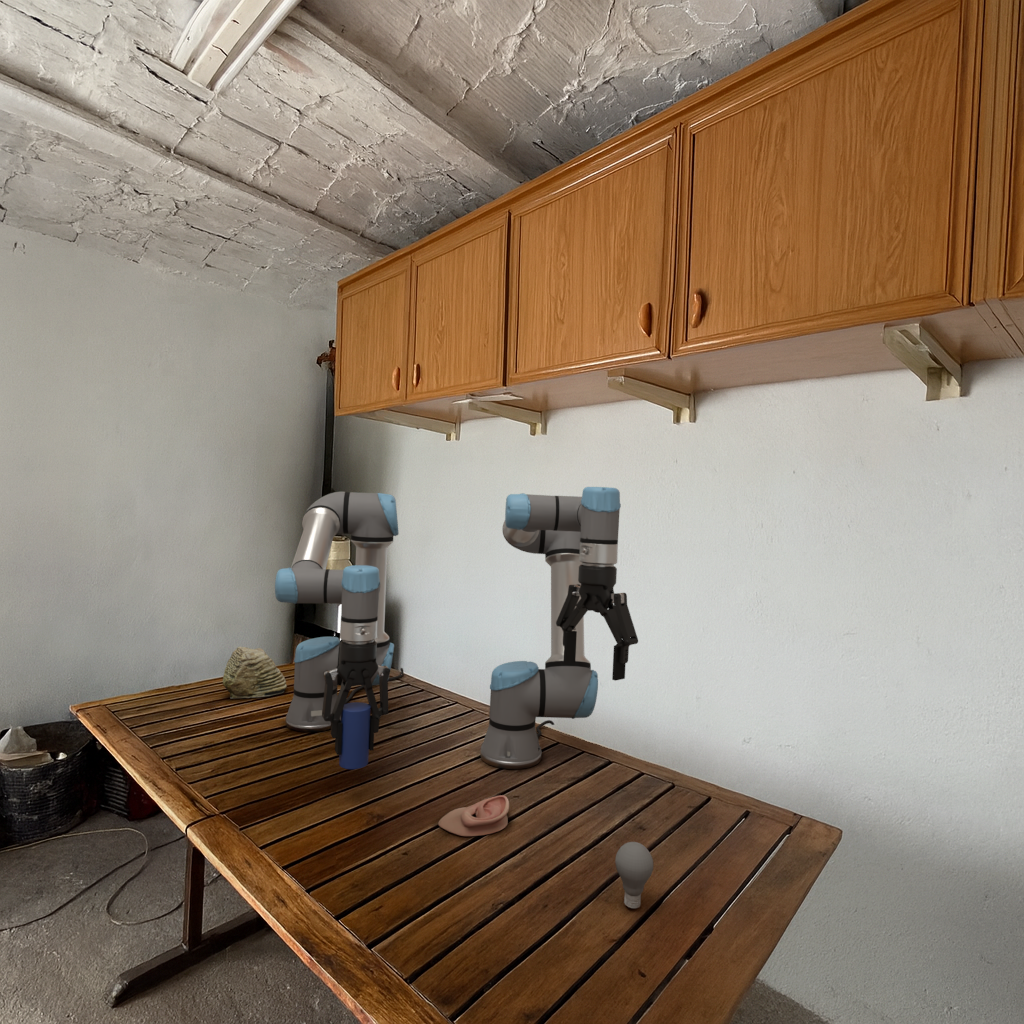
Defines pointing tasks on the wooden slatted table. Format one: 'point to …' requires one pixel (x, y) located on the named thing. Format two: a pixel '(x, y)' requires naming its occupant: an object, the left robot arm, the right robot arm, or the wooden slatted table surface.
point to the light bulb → (633, 871)
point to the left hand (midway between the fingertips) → (354, 750)
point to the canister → (355, 735)
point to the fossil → (252, 674)
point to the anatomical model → (478, 817)
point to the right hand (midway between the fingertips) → (592, 670)
